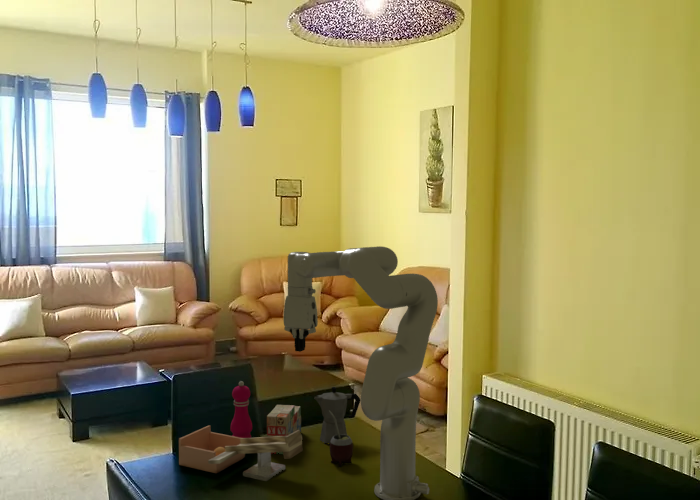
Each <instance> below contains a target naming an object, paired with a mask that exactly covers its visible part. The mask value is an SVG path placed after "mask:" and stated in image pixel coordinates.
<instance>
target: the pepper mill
mask: <svg viewBox="0 0 700 500" xmlns="http://www.w3.org/2000/svg"><path fill="white" fill-rule="evenodd" d="M244 384H245V383H244V381H242V380H239V382H238V385H237V386H235V387H234V388H233V389H232V392H231V397H232V398H233V399H234V400H233V406H234V415H233V418H232V420H231V423H230V428H229V429H230V432H231V433H232V435H231V436H235V437H240V438H252V434H251V432H252V430H253V422H252V420H251V416H250V415H249V410H248V406H249V404H250V400H249V399H250V396H251V390H250V388H249V387H248V386H247V385H244Z"/></svg>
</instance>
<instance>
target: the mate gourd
mask: <svg viewBox="0 0 700 500" xmlns="http://www.w3.org/2000/svg"><path fill="white" fill-rule="evenodd" d="M329 412H330V414H331V415H332V417H333V418H334V422H335V425H336V429H337V433H338V435H335V436H333V437H332V439H331V441H330V445H329V454H330V459H331V460H330V463H331V464H338V467H339V468H342V467H341V466H343V464H342V463H351V464H352V457H353V452H354V442H353V440H352V438H351V437H350V436H349V435H348V434H347V435H343V434H339V430H338V426H337V420H336V418H335V416H334V415H333V414H332V412H331V411H330V410H329Z"/></svg>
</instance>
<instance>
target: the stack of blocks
mask: <svg viewBox="0 0 700 500" xmlns="http://www.w3.org/2000/svg"><path fill="white" fill-rule="evenodd" d="M301 408H302V407H301V406H300V405H299V406H298V405H292V404H291V405H290V404H276V405H275V407H274V408H273V409H272V410H271V411H270V412H269V413H268V414H267V415H266V437H274V436H288V435H290V434H291V433H293V432H295V431H297V430H300V432H301V433H302V415H301V413H302V412H301V410H302V409H301ZM273 453H274V455H275V454H276V455H283V452H271V455H272V454H273ZM278 453H279V454H278Z"/></svg>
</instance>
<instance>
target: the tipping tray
mask: <svg viewBox="0 0 700 500" xmlns="http://www.w3.org/2000/svg"><path fill="white" fill-rule="evenodd" d="M302 440H303V435H302V434H301V433H300V430H297V431H295V432H293V433H291V434H290V435H288V436H274V437H267V436H261V437H259V436H258V437H251V438H241V439H240V442H241V444H239V445H237V446H225V452H223V453H222V454H220V455H218V456H216V457H214V458H212V459H210V460H208V463H209V464H220V463H222V462H224V461H226V460H227V459H229V458H231V457H233V456H235V455H237V454H244V453H245V454H258V453H266V452H283V454H282V455H283V459H286V460H288V459H292V458H293V457H295V456H297V455H298V454H300V453H302V452H303V451H304V449H303V441H302Z"/></svg>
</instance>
